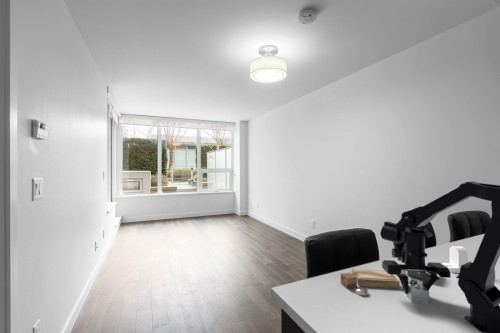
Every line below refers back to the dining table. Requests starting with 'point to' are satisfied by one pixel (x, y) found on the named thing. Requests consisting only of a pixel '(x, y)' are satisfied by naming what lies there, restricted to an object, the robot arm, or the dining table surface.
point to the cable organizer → (457, 259)
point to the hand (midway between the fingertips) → (414, 293)
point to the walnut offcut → (348, 280)
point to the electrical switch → (415, 273)
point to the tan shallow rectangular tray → (375, 278)
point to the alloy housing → (417, 292)
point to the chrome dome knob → (361, 291)
